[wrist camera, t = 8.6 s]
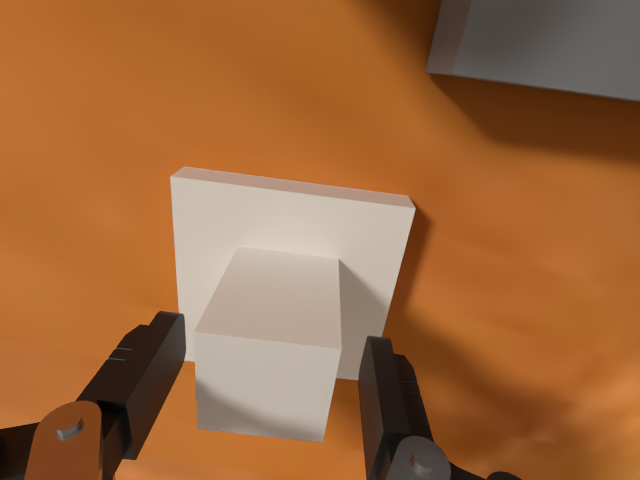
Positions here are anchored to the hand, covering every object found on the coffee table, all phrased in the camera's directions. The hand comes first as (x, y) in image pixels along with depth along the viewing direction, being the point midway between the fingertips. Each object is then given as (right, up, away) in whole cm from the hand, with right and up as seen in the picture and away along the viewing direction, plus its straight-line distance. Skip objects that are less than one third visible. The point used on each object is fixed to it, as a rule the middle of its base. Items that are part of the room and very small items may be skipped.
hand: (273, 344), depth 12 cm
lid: (0, +2, +4) cm, 5 cm away
